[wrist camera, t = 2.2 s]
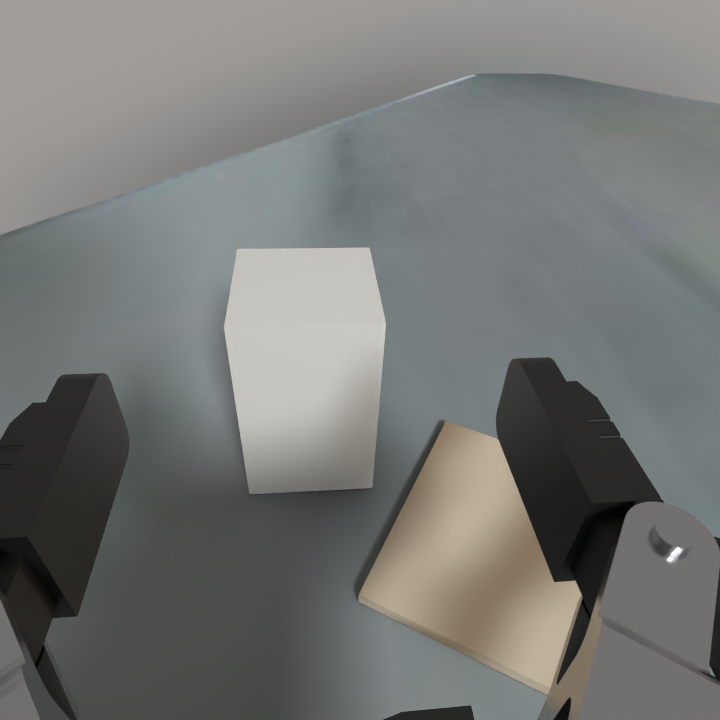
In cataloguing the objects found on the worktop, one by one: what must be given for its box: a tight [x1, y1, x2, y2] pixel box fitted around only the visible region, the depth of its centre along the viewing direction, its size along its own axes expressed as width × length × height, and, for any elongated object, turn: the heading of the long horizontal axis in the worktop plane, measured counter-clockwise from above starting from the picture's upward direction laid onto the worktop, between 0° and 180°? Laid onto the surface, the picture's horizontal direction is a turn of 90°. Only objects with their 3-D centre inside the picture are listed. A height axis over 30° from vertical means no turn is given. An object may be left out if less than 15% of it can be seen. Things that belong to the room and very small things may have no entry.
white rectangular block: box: [224, 248, 386, 494], centre depth 26 cm, size 6×6×10 cm
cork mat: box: [358, 421, 581, 695], centre depth 24 cm, size 11×11×1 cm
